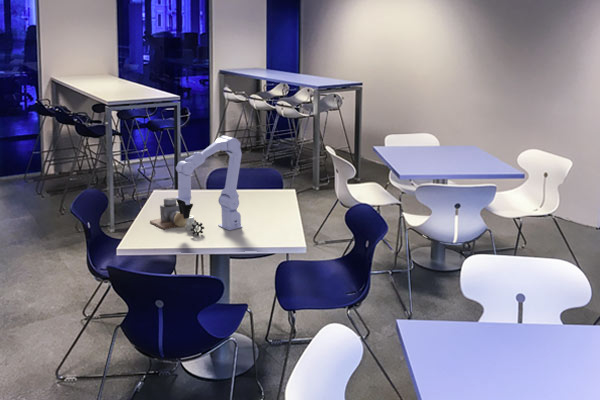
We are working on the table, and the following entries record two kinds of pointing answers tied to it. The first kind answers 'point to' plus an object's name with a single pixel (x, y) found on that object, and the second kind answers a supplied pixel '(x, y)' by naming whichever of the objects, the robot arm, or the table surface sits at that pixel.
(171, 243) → the table surface
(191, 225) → the valve
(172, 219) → the pipe stand
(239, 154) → the robot arm
